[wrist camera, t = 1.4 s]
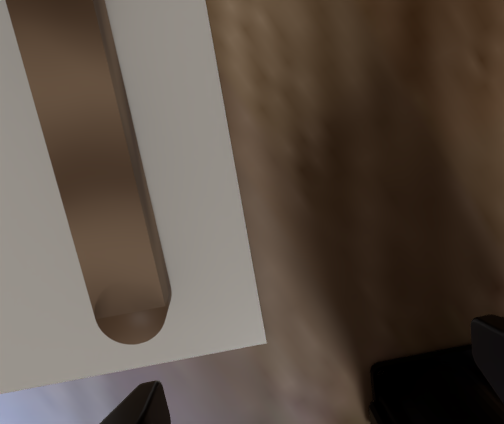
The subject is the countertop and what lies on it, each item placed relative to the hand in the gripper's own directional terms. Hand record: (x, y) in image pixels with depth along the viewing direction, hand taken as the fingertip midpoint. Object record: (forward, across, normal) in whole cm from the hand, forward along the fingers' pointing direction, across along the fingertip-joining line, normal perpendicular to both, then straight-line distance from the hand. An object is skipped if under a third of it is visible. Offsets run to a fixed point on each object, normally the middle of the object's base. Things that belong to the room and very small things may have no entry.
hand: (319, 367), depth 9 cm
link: (+11, +6, -6) cm, 14 cm away
